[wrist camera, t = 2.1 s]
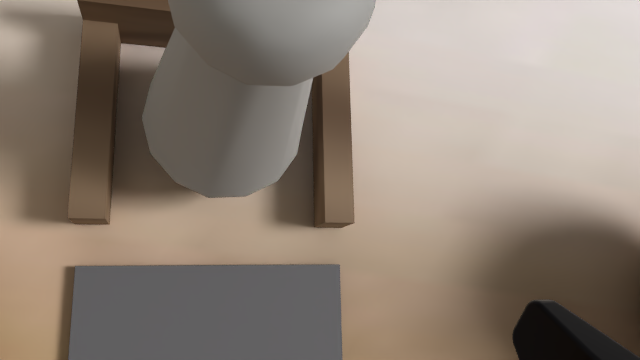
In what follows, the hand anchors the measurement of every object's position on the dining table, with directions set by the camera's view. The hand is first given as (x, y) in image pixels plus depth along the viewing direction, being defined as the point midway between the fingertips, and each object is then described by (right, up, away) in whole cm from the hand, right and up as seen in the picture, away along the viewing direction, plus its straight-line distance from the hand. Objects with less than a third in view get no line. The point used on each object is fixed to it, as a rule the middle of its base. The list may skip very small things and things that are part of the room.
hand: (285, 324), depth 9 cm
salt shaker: (-4, +4, +13) cm, 14 cm away
